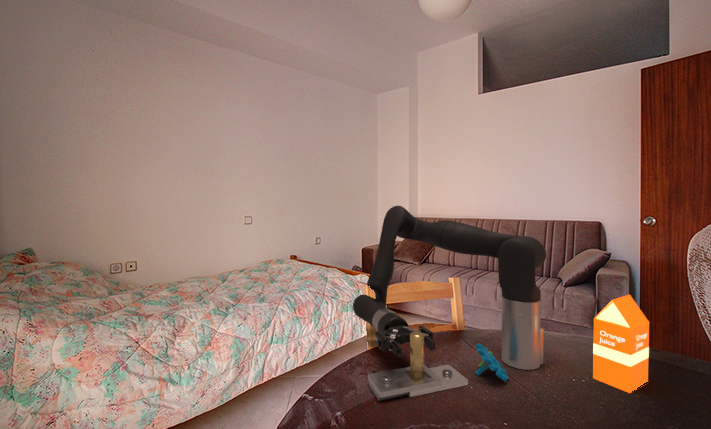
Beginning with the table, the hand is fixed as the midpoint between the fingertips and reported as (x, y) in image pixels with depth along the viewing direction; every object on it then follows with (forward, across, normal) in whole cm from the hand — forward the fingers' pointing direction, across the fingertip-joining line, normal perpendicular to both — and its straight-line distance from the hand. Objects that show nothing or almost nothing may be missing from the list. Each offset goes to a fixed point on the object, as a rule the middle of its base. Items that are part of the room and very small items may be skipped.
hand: (417, 349), depth 80 cm
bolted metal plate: (0, 0, +8) cm, 9 cm away
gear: (+2, +19, +9) cm, 21 cm away
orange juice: (+14, +46, +9) cm, 49 cm away
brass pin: (0, 0, +8) cm, 9 cm away
